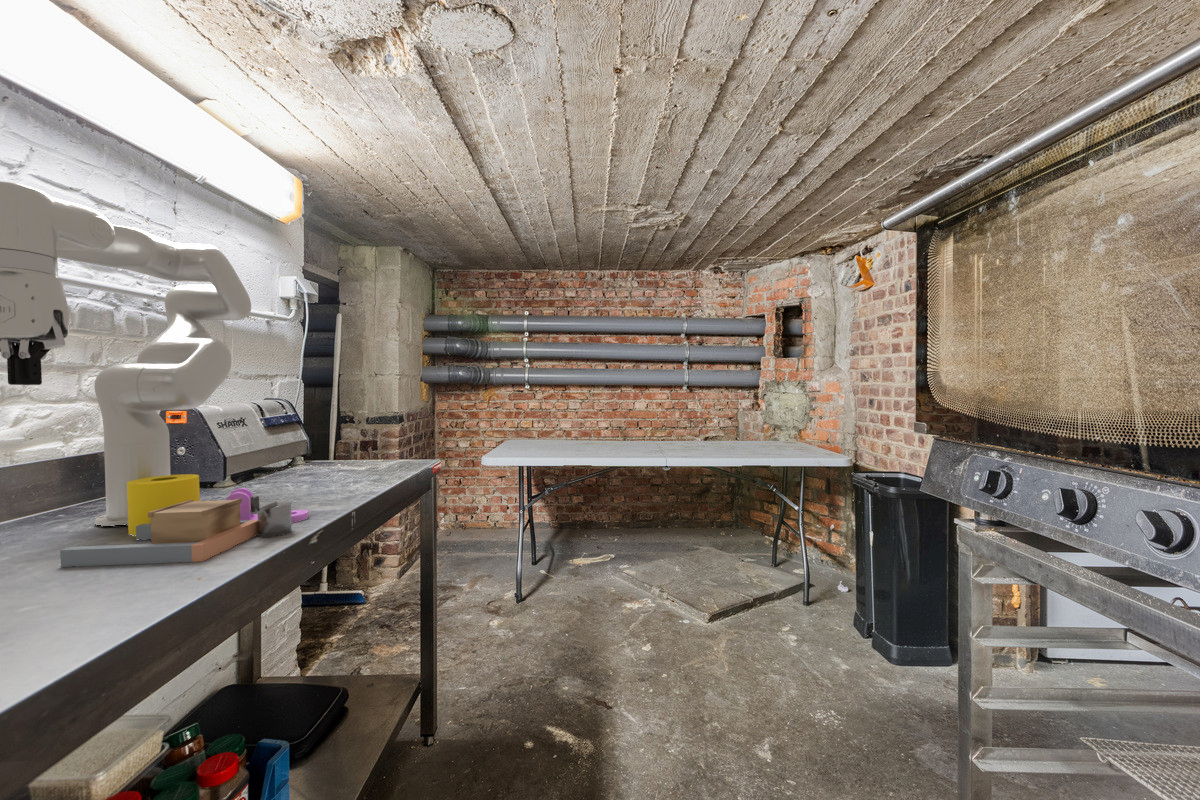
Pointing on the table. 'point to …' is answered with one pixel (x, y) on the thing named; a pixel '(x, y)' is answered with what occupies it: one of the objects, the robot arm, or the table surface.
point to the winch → (272, 517)
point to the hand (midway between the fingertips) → (25, 384)
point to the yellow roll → (158, 495)
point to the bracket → (245, 514)
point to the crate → (193, 520)
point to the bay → (158, 549)
